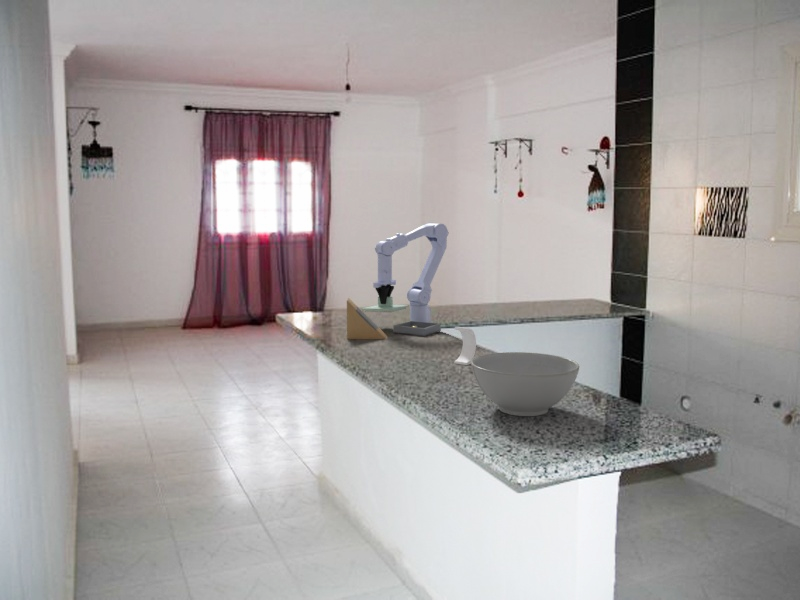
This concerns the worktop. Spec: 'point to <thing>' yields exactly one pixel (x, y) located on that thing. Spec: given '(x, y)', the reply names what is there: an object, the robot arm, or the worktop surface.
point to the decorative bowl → (524, 380)
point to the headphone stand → (466, 346)
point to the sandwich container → (361, 324)
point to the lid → (385, 306)
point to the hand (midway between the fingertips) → (384, 303)
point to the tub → (421, 329)
